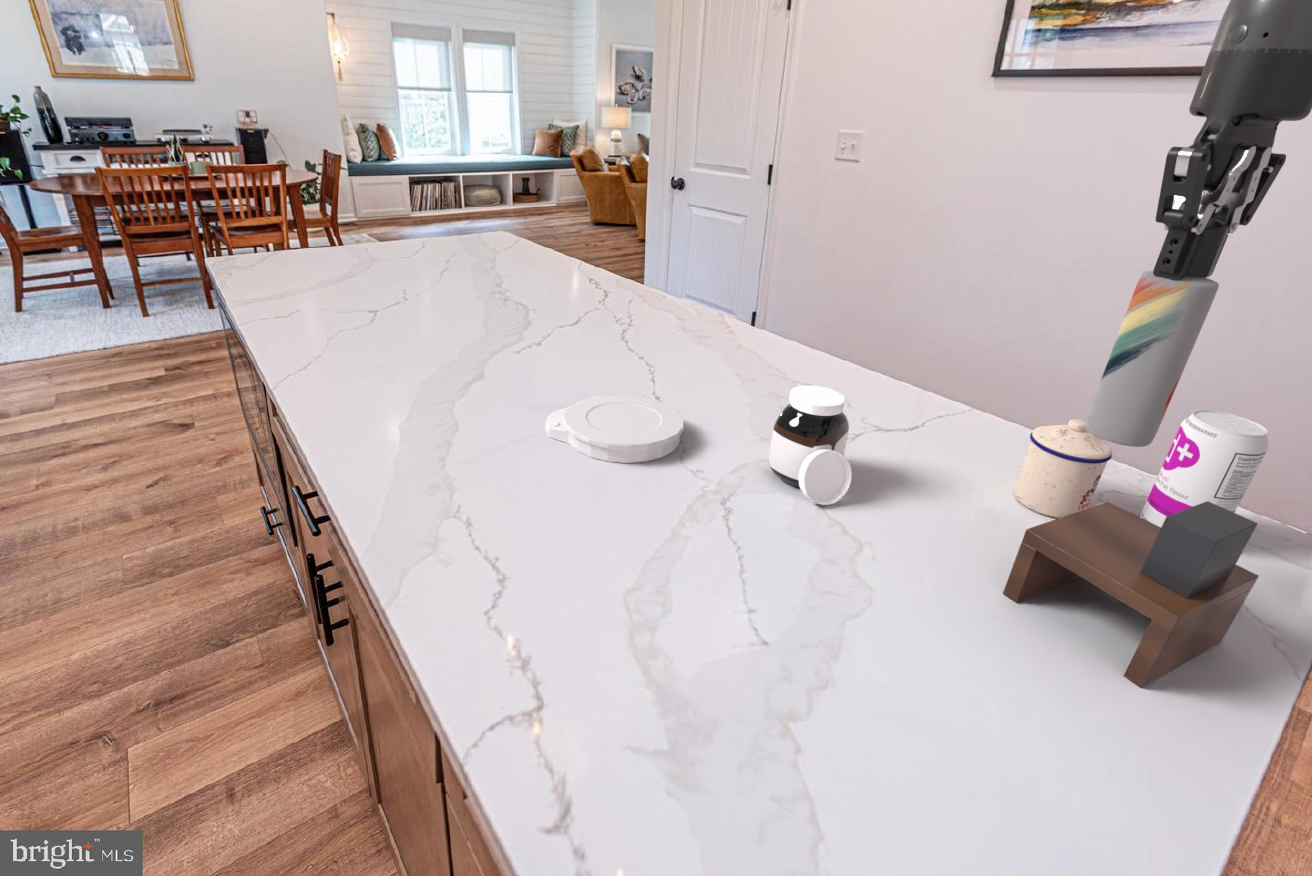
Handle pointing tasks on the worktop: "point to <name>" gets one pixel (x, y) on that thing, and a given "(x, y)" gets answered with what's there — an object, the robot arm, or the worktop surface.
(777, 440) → the spread jar
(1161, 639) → the riser
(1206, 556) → the charcoal block
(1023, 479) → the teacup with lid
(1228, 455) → the supplement can
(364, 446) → the worktop surface
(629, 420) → the lid
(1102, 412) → the lotion bottle
